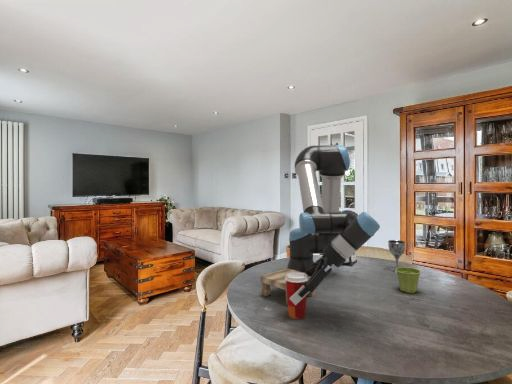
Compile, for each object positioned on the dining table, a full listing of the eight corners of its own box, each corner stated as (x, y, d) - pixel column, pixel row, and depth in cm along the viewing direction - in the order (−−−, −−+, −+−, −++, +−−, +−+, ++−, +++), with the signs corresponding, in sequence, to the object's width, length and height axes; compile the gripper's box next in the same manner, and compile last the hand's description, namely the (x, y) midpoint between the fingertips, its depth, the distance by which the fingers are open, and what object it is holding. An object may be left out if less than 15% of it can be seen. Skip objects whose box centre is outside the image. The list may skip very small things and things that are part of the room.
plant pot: (424, 295, 114) (424, 273, 114) (399, 294, 116) (399, 272, 116) (416, 287, 123) (416, 267, 123) (393, 286, 125) (392, 266, 125)
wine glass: (406, 269, 150) (405, 240, 150) (404, 273, 143) (404, 243, 143) (389, 267, 154) (389, 239, 154) (387, 271, 148) (387, 242, 148)
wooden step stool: (261, 295, 117) (260, 276, 117) (286, 285, 128) (286, 268, 128) (290, 306, 105) (290, 285, 105) (316, 295, 116) (316, 275, 116)
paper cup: (309, 312, 101) (309, 272, 101) (306, 322, 93) (305, 279, 93) (288, 309, 103) (287, 270, 103) (282, 318, 96) (282, 277, 96)
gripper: (352, 270, 82) (300, 318, 85) (343, 251, 107) (303, 289, 110) (332, 251, 83) (282, 299, 86) (328, 236, 108) (288, 275, 111)
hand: (293, 294), depth 98 cm, fingers open, 13 cm apart
